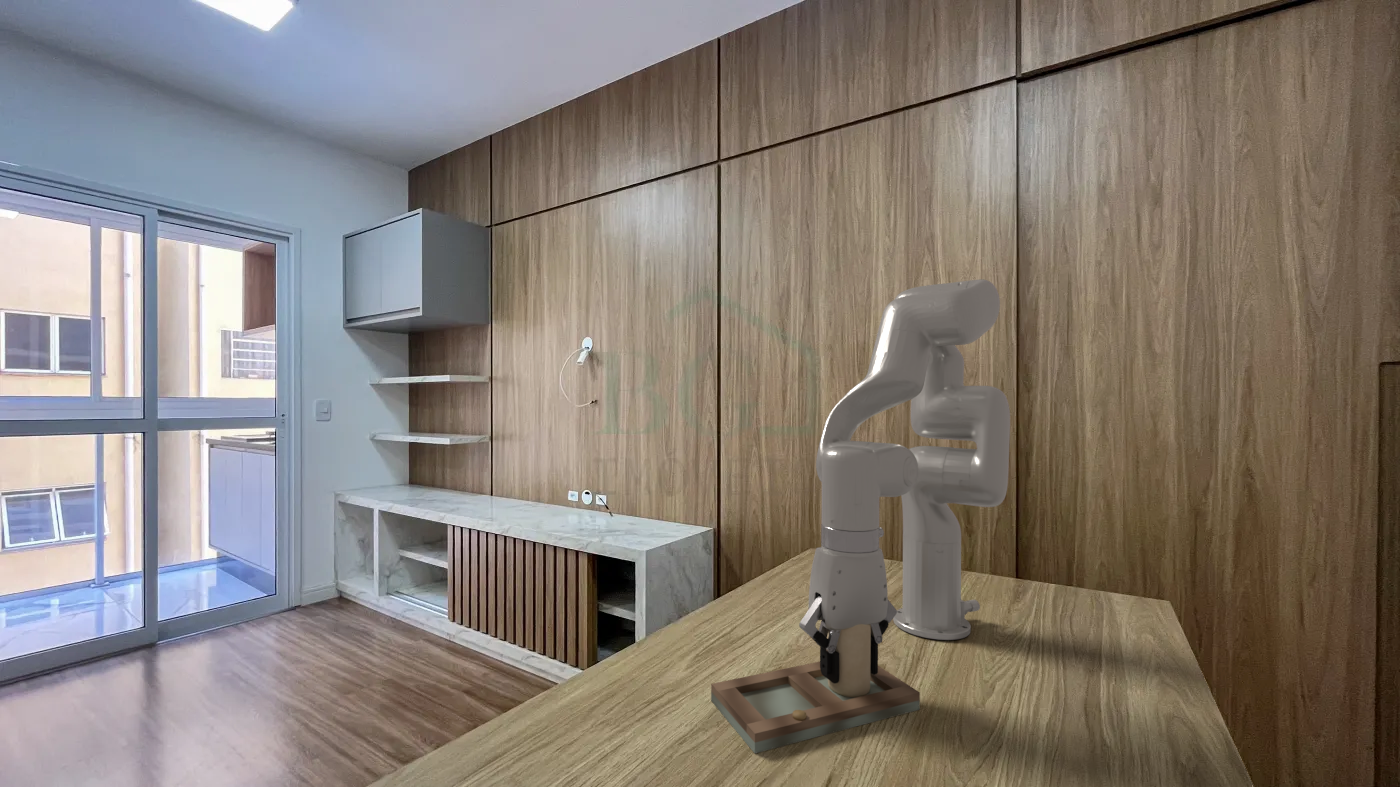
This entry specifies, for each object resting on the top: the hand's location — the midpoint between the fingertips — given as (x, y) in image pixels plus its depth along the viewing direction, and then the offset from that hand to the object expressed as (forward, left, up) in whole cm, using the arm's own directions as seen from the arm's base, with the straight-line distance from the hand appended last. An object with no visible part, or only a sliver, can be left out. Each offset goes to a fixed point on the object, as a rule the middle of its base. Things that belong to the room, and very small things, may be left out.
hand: (849, 672), depth 76 cm
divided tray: (+6, 0, -3) cm, 6 cm away
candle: (0, 0, -2) cm, 2 cm away
